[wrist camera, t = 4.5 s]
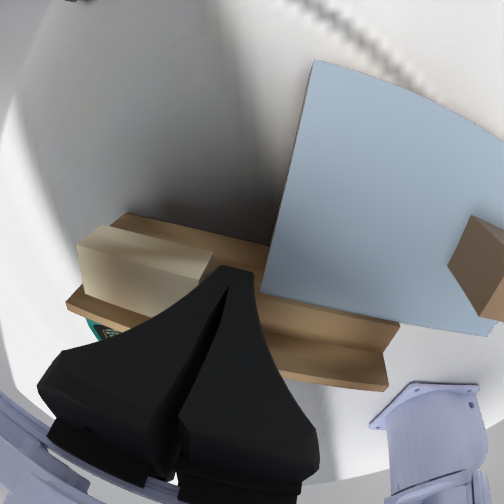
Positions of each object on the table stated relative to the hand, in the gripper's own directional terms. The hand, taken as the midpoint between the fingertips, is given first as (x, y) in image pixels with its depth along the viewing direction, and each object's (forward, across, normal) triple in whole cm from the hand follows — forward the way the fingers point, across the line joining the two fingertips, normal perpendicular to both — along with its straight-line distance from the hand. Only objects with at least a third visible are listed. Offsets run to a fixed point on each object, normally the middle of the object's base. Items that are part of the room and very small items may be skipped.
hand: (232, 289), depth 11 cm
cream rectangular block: (+1, +4, 0) cm, 4 cm away
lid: (+2, -8, -4) cm, 9 cm away
